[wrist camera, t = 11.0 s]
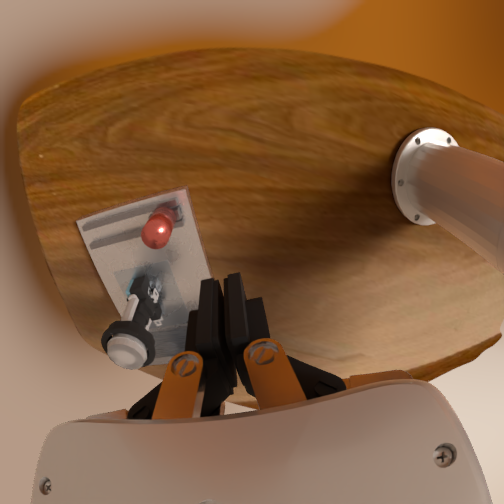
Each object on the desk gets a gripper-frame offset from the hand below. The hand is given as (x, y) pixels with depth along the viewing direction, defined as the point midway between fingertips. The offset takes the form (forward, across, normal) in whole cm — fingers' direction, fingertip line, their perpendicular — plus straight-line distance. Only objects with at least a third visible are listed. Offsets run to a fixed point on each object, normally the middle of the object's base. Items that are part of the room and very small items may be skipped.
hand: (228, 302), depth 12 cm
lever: (+15, +6, 0) cm, 16 cm away
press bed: (+17, +10, +7) cm, 21 cm away
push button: (+16, +11, +9) cm, 21 cm away
